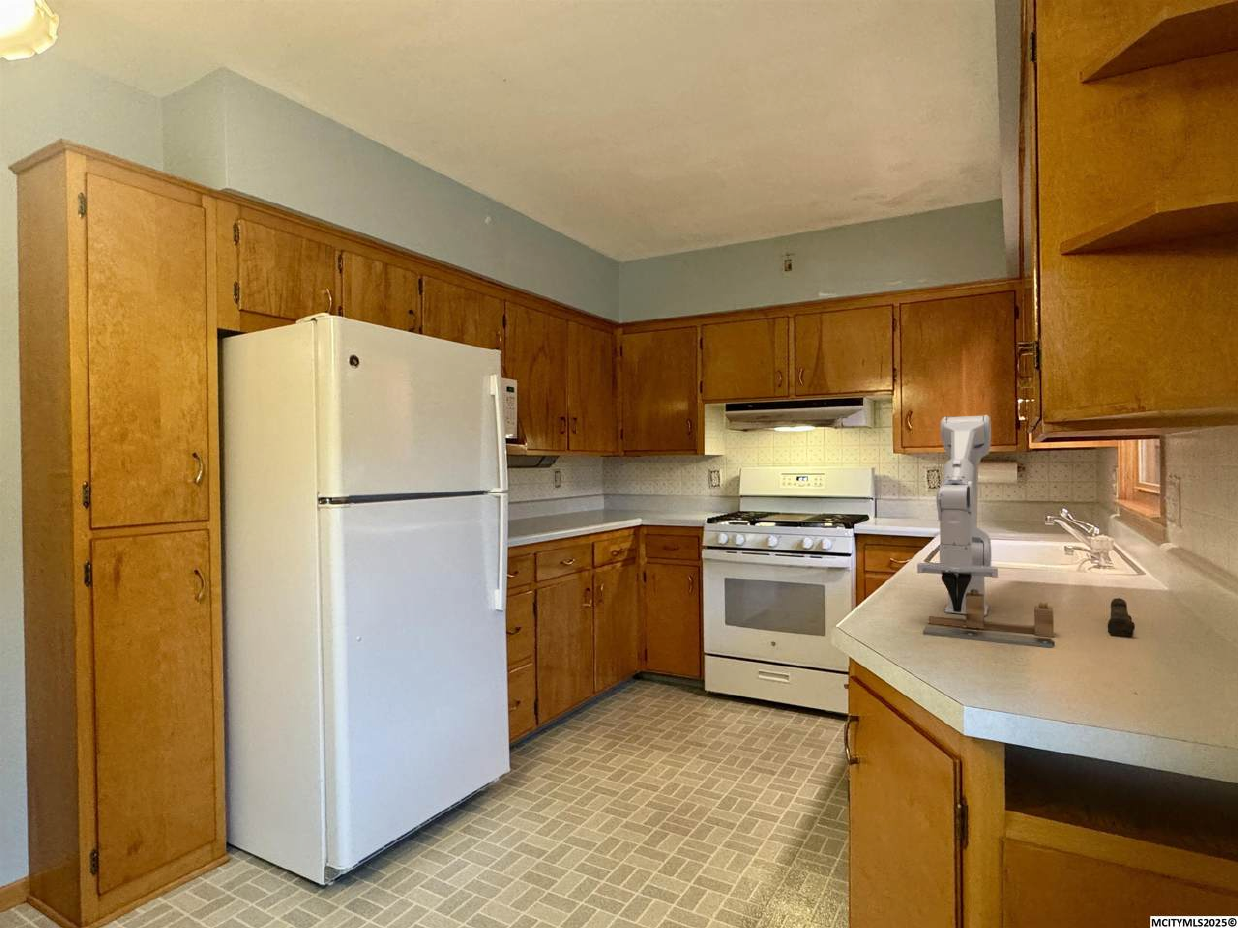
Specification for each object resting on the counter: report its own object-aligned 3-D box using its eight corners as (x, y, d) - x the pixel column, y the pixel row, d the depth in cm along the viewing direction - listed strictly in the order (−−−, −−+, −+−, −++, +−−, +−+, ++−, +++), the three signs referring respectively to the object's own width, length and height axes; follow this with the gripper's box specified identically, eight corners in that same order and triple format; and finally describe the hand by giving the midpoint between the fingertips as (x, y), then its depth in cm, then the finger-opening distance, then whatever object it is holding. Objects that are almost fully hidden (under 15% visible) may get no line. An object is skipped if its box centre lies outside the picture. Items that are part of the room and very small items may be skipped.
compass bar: (930, 620, 138) (929, 592, 138) (1052, 632, 127) (1052, 601, 127) (928, 624, 135) (927, 595, 135) (1053, 637, 124) (1053, 605, 124)
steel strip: (925, 628, 132) (925, 625, 132) (1054, 642, 121) (1054, 638, 121) (923, 634, 128) (923, 630, 128) (1055, 648, 117) (1055, 644, 117)
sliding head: (967, 622, 135) (966, 587, 135) (984, 624, 133) (983, 588, 133) (966, 627, 131) (965, 591, 131) (983, 628, 130) (982, 592, 130)
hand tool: (1134, 640, 122) (1134, 615, 122) (1107, 637, 124) (1107, 612, 124) (1135, 620, 137) (1135, 598, 137) (1111, 618, 139) (1111, 596, 139)
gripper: (914, 544, 134) (915, 611, 134) (996, 547, 127) (998, 618, 127) (919, 540, 140) (920, 604, 140) (997, 543, 133) (998, 611, 133)
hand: (957, 610), depth 134 cm, fingers closed
